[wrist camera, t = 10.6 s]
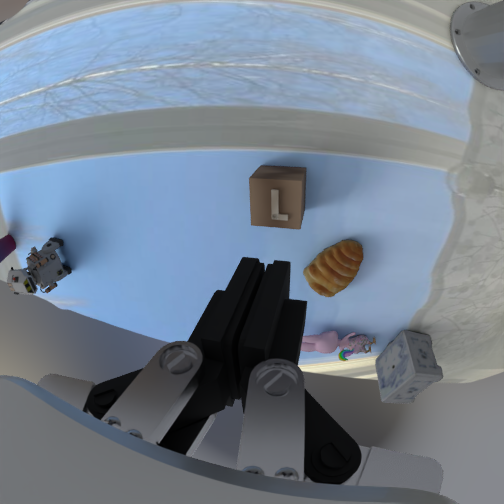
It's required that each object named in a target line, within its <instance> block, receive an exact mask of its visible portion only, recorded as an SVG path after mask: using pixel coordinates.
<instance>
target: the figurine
mask: <svg viewBox="0 0 504 504" xmlns="http://www.w3.org/2000/svg"><path fill="white" fill-rule="evenodd" d="M61 246H63V241H62V240H60V239H56V238H54V237H53V238H52V237H51V238H50V239H49V241H48V242H47V243H45V244H44V245H43V247H42V250H40V251H38V252H37V249H36V248H35V246H34V247H33V248H31V255H30V256H29V257H27V258H26V260H27V265H28V267H27V268H24V269H20V270H13V267H11V270H10V271H9V273H8V279H7V284H8V286H9V288H10V290H11V291H12V292H14V294H30V295H33V293H36V291H37V286H36V284H37V285H39V286H40V290H41V288H42V289H44V288H46V287H47V286H48V285H49V286H50V287H48V288H47V289H45V292H46V293H48V292H50V291H51V290H52V289H54V288H55V287H57V283H56V282H57V281H59V280H61V279H63V278H64V277H65V276H67V275H69V274H70V273H72V272H71V268H70V267H68V266H66V267H65V265H62V264H61V261H60V258H59V256H58V255H57V253H56V251H55V250H56V249H57V248H59V247H61ZM29 254H30V253H29ZM29 254H28V255H29ZM27 269H28V271H29V272H27V271H26V270H27ZM41 291H42V290H41ZM42 292H43V291H42ZM45 292H43V293H45Z"/></svg>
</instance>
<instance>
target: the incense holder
mask: <svg viewBox="0 0 504 504" xmlns="http://www.w3.org/2000/svg"><path fill="white" fill-rule="evenodd" d="M375 365H376V371H377V376H378V381H379V388H380V394H381V400H382V401H383V402H384V403H412V402H414V400H415V397H416V396H417V395H418V394H419V393H420V392H422V391H423V390H424V389H426V388H427V387H428V386H429V385H431V384H432V383H433V382H438V381H440V380H441V379H442V378H443V373H442V368H441V367H440V366H438V365H437V363H436V359H435V356H434V353H433V350H432V341H431V337H430V336H429V335H426V334H420V333H415V332H411V331H407V330H403V331H401V332H400V334H399V335H398V336H397V337H396V338H395V340H394V341H393V342H390V343H389V344H388V345H387V347H386V349H385V351H384V352H383V353H382V354H381V355H380V356H379V357H378V358H377V359H376V364H375Z"/></svg>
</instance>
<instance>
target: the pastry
mask: <svg viewBox="0 0 504 504" xmlns="http://www.w3.org/2000/svg"><path fill="white" fill-rule="evenodd" d="M362 260H363V248H362V245H360V244H359V243H358V242H356V241H353V240H342V241H341V242H339V243H337V244H335V245H332V246H330V247H329V248H326V249H324V250H323V251H322V252H321V253H319V254H318V255H317V257H316V258H315V259H314V260H313V261H312V262H311V263H310V264H309V266H307V267H306V268H305V269H304V271H303V274H304V276H305V278H306V280H307V282H308V283H309V285H310V287H311V288H312V289H313V290H314V291H316V292H317V293H318V294H320V295H323V296H325V297H332V296H334V295H335V294H336V293H338V292H340V291H341V290H343V289H345V288H346V287H347V286H348V285H349V283H350V282H351V281H352V280H353V279H354V277H355V276H356V274H357V272H358V270H359V267H360V264H361V262H362Z"/></svg>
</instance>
